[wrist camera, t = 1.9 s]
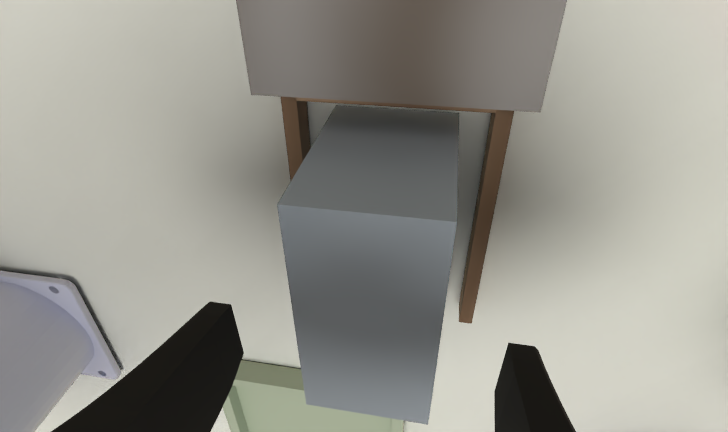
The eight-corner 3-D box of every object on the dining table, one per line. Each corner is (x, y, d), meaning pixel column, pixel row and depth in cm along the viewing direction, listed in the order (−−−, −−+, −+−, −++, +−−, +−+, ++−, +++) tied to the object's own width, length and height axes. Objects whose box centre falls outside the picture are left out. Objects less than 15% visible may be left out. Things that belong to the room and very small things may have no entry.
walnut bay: (300, 283, 20) (286, 317, 18) (261, -33, 13) (232, -23, 11) (483, 306, 19) (485, 345, 17) (555, -28, 12) (570, -16, 10)
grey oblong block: (345, 292, 20) (308, 417, 15) (336, 104, 15) (277, 204, 10) (434, 303, 19) (425, 437, 15) (458, 111, 14) (457, 222, 9)
